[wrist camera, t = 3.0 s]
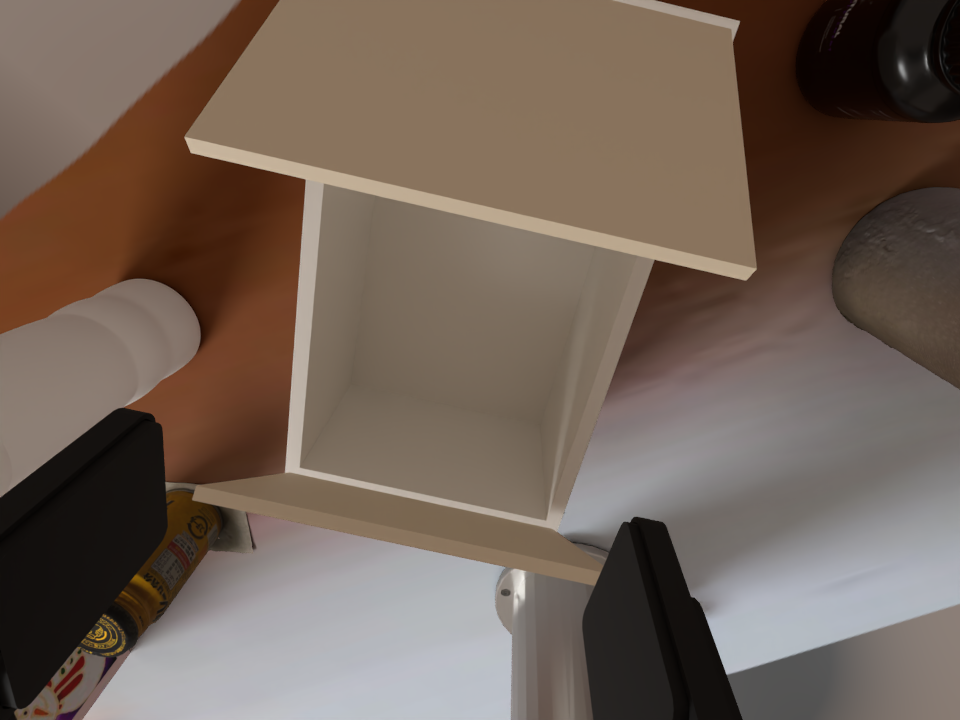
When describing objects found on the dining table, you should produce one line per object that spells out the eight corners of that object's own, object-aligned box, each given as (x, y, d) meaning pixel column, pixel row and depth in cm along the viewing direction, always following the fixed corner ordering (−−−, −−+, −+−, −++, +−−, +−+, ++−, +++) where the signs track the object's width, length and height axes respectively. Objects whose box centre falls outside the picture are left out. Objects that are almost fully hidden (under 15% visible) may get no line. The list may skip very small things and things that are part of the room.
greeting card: (138, 652, 56) (15, 827, 42) (72, 653, 57) (-70, 825, 43) (94, 570, 51) (-60, 736, 38) (23, 571, 52) (-154, 735, 38)
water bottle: (140, 374, 42) (-311, 686, 19) (91, 288, 39) (-505, 534, 16) (221, 354, 41) (-158, 664, 18) (176, 265, 38) (-339, 495, 15)
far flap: (616, 575, 19) (614, 589, 19) (552, 528, 30) (550, 537, 30) (196, 485, 19) (191, 500, 19) (289, 472, 30) (287, 481, 30)
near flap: (723, 42, 20) (731, 29, 20) (746, 280, 14) (756, 269, 14) (329, -53, 20) (328, -69, 19) (190, 152, 14) (184, 136, 14)
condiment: (143, 480, 46) (28, 594, 35) (240, 485, 46) (152, 601, 35) (164, 545, 49) (63, 668, 38) (254, 550, 49) (178, 676, 38)
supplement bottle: (801, -16, 29) (972, -93, 18) (939, -29, 28) (1202, -117, 17) (781, 124, 32) (917, 131, 21) (905, 115, 31) (1114, 117, 20)
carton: (668, 50, 30) (740, 20, 20) (547, 432, 41) (556, 534, 31) (389, -17, 30) (324, -81, 20) (342, 387, 41) (284, 475, 31)
